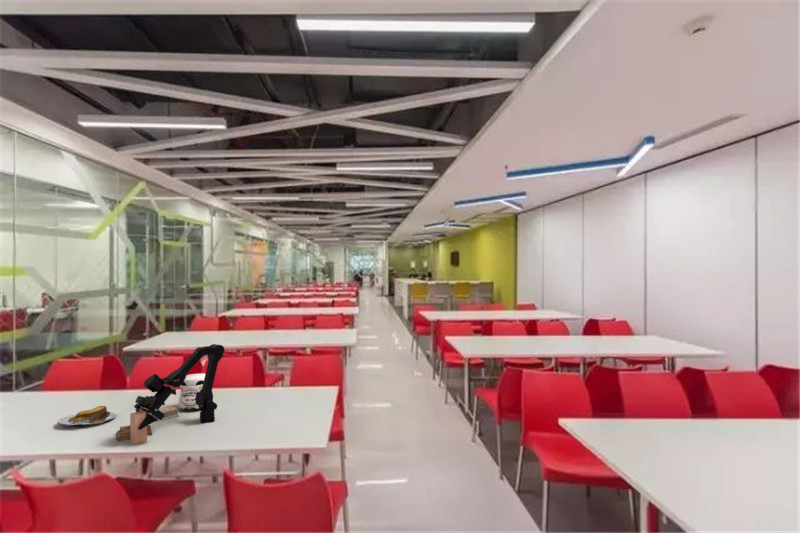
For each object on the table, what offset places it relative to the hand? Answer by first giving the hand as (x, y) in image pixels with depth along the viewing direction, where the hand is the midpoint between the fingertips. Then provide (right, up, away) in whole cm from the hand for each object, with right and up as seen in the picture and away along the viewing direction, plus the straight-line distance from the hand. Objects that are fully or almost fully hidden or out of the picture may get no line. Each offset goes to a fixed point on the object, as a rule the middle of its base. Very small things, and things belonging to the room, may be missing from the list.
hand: (135, 427), depth 203 cm
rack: (-7, -7, +11) cm, 15 cm away
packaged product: (-8, -8, +34) cm, 35 cm away
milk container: (+4, -7, +51) cm, 52 cm away
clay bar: (+1, -7, +1) cm, 7 cm away
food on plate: (-42, -8, +30) cm, 53 cm away
